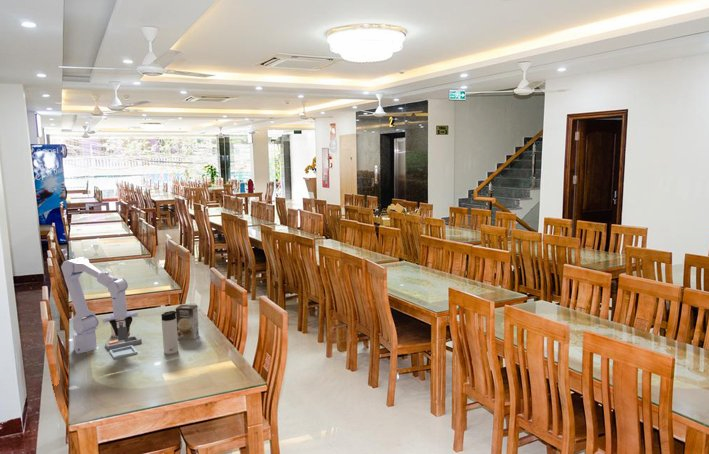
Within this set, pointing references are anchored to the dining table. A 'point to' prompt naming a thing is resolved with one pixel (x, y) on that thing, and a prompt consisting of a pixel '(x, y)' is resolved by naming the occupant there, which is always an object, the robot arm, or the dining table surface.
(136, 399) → the dining table surface
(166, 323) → the travel mug
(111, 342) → the power strip
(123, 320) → the teacup with lid
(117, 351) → the tray
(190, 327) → the coffee box
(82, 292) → the robot arm
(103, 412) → the dining table surface
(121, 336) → the plug
